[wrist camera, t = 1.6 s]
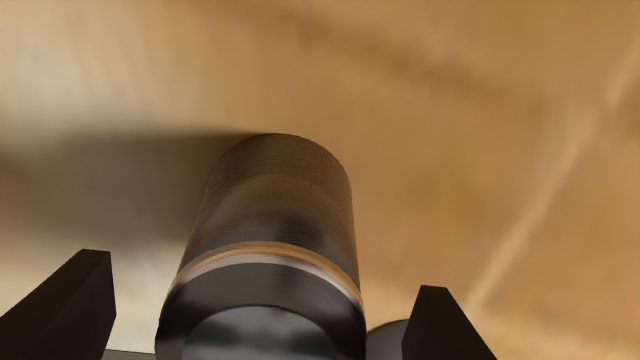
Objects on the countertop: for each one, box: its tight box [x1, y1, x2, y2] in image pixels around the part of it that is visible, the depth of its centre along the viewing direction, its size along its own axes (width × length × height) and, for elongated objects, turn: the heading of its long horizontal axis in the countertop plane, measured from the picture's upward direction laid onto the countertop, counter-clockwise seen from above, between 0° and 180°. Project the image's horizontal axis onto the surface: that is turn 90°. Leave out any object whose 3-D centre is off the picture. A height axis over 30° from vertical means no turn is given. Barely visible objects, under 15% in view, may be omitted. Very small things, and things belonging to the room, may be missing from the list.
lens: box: [154, 134, 367, 360], centre depth 13 cm, size 4×4×6 cm
